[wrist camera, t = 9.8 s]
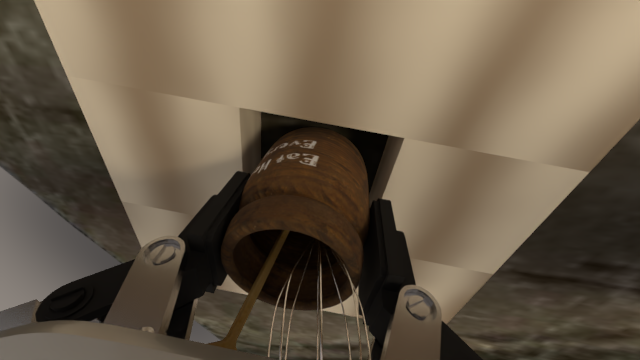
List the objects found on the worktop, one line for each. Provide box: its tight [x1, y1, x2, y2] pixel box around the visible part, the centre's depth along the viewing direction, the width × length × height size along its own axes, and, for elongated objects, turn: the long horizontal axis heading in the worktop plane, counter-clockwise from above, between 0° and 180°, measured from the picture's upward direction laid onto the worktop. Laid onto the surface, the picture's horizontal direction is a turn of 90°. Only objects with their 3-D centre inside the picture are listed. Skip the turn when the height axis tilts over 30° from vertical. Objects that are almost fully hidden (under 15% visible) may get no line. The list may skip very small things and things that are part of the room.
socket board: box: [34, 0, 640, 324], centre depth 14 cm, size 24×24×3 cm
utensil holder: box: [208, 127, 372, 360], centre depth 9 cm, size 6×6×12 cm
